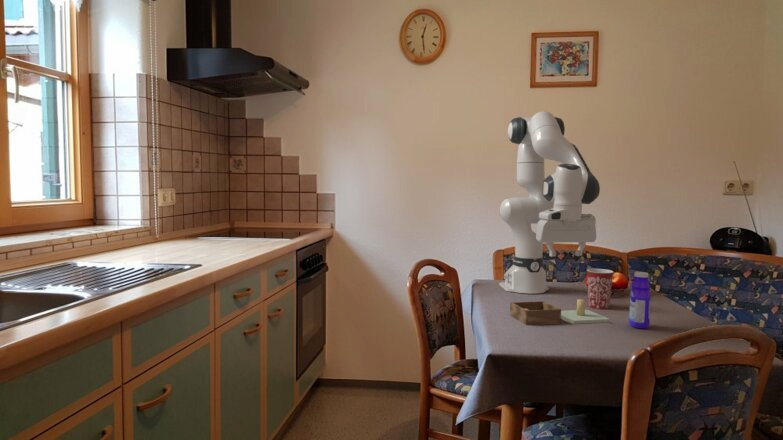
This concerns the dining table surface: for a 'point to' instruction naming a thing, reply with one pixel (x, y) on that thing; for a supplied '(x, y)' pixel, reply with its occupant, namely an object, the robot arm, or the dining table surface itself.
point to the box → (535, 312)
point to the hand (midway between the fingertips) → (565, 256)
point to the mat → (588, 323)
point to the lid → (582, 315)
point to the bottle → (640, 301)
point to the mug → (599, 288)
